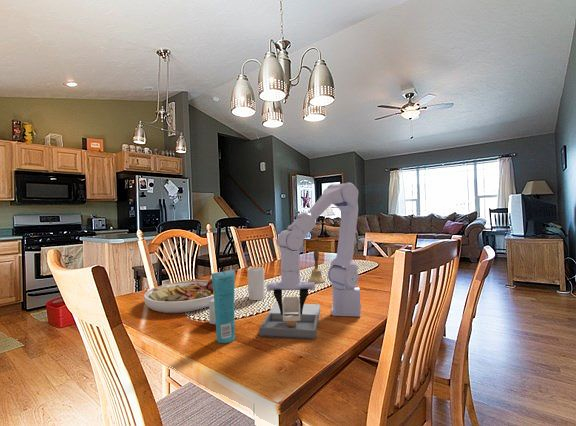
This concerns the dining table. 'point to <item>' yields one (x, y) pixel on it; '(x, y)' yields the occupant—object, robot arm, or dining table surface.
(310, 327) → the tray
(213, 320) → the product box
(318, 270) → the hand bell
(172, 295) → the bowl
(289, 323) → the ball
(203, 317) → the dining table surface
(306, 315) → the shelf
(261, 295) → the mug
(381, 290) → the dining table surface
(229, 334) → the tube
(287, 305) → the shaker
